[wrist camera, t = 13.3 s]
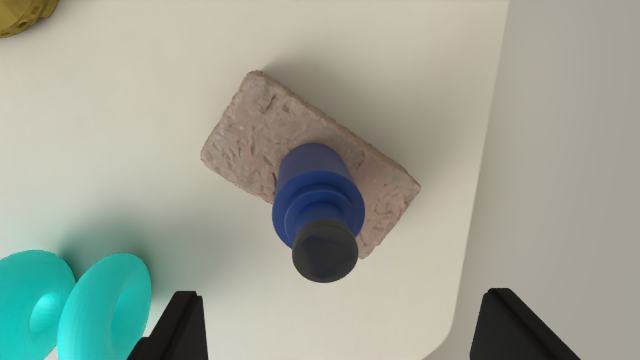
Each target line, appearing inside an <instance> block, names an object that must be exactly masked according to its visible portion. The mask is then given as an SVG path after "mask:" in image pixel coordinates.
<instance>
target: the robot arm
mask: <svg viewBox="0 0 640 360" xmlns="http://www.w3.org/2000/svg"><path fill="white" fill-rule="evenodd" d="M126 360H208V351H207V340H206V330H205V320H204V309H203V299H202V296H197V293H196V291H176V292H175V293H174V295H173V297H172V298H171V300H170V302H169V304H168V305H167V307H166V309H165V310H164V312H163V314H162V316H161V317H160V319H159V321H158V322H157V324H156V326H155V328H154V329H153V331H152V333H151V334H150V336H149V337H142V338H141V339H139V341H138V342H137V343H136V345H135V346H134V348H133V350H132V351H131V353H130V354H129V356H128V358H127V359H126ZM470 360H580V358H579V357H578V356H577V355H576V354H575V353H574V352H573V351H572V350H571V349H570V348H569V347H568V346H567V345H566V344H565V343H564V342H562V340H561V339H560V338H559V337H558V336H557V335H556V334H555V333H554V332H553V331H552V330H551V329H550V328H549V327H548V326H546V324H545V323H544V322H542V320H541V319H540V318H539V317H538V316H537V315H536V314H535V313H534V312H533V311H532V310H531V309H530V308H529V307H528V306H527V305H526V304H525V303H524V302H523V301H522V300H521V299H520V298H519V297H518V296H517V295H516V294H515V293H514V292H513V291H512V290H510V289H509V288H491V289H489V290H488V292H487V293H485V294H484V296H483V299H482V304H481V308H480V312H479V316H478V321H477V325H476V330H475V334H474V338H473V342H472V346H471V351H470Z"/></svg>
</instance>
